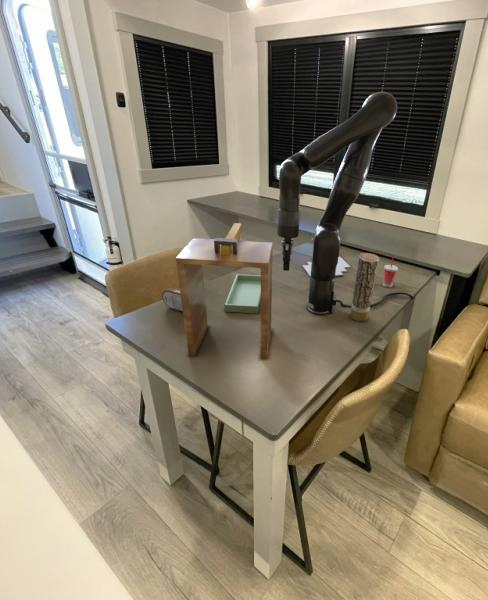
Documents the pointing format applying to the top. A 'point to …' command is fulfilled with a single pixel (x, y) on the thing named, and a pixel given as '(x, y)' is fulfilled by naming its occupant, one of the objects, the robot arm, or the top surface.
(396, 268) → the beverage cup
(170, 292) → the tin
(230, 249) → the rod
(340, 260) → the paper stack
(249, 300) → the tray
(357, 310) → the bark covered firewood piece
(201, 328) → the shelf stand
